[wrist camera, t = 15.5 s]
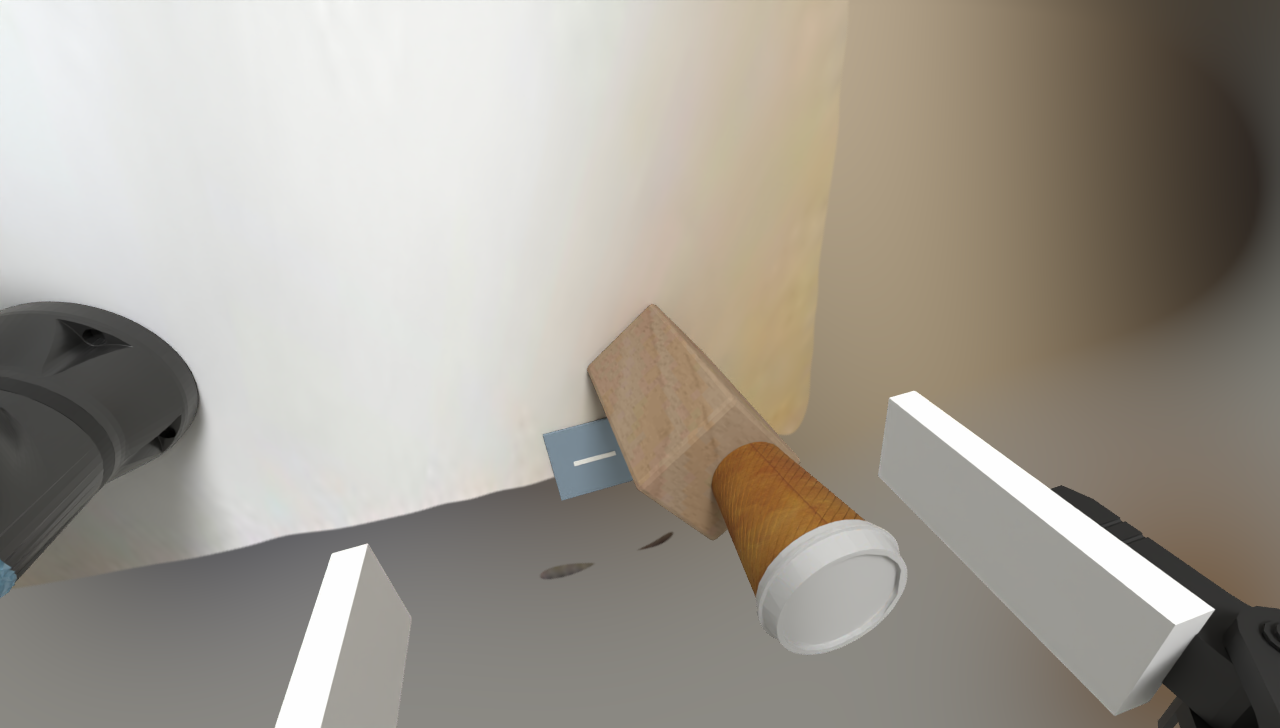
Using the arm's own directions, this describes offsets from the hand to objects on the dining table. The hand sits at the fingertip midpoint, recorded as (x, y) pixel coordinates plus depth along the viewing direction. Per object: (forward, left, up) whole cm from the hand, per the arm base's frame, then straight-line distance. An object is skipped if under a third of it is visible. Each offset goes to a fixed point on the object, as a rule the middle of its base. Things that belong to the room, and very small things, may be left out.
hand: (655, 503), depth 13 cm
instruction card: (+4, -30, -39) cm, 49 cm away
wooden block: (+8, -19, -39) cm, 44 cm away
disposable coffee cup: (+11, -19, -19) cm, 29 cm away
